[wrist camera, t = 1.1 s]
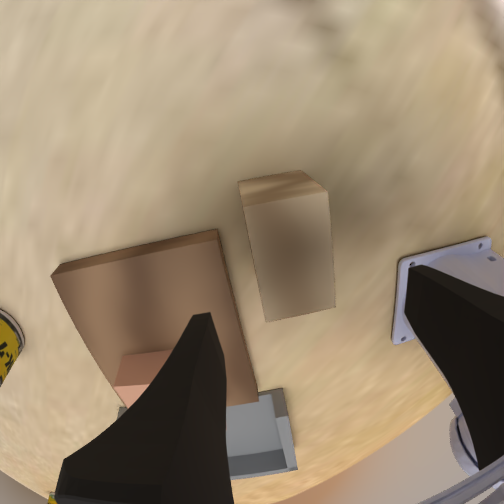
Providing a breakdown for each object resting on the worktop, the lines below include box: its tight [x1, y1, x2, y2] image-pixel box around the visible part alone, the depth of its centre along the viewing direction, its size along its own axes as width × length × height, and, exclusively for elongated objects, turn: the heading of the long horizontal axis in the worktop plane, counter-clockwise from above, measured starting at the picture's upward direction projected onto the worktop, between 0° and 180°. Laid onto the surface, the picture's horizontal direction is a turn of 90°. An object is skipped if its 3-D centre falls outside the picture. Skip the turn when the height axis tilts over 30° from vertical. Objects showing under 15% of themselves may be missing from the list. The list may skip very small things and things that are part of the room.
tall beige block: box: [238, 170, 336, 322], centre depth 16 cm, size 4×6×5 cm, turn 10°
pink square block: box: [113, 349, 227, 430], centre depth 20 cm, size 6×6×3 cm
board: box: [51, 229, 259, 409], centre depth 21 cm, size 11×14×2 cm
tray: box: [117, 388, 298, 480], centre depth 26 cm, size 15×11×3 cm
